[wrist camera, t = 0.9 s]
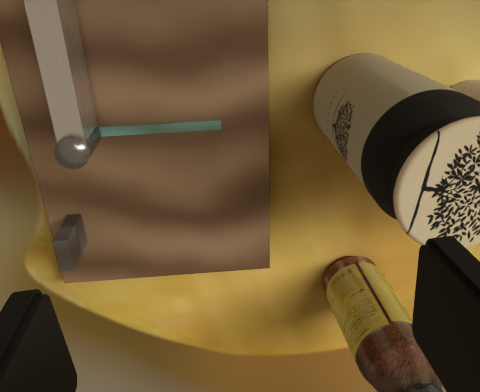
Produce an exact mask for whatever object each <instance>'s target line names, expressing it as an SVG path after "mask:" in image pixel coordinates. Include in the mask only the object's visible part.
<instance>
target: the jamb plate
mask: <svg viewBox="0 0 480 392" xmlns="http://www.w3.org/2000/svg"><path fill="white" fill-rule="evenodd" d="M74 5H75V11H76V16H77V21H78V27H79V32H80V37H81V43H82V48H83V53H84V58H85V64H86V69H87V74H88V80H89V85H90V90H91V96H92V101H93V106H94V112H95V117H96V122H97V126H98V127H99V129H100V131H101V140H100V142H99V144H98V145H97V147H96V148H95V150H94V152H93V153H92V155H91V156H90V158H89V160H88V161H87V163H86V164H85V165H84V166H83V167H81V168H79V169H68V168H65V167H63V166H62V165H61V164H59V163H58V161H57V160H56V158H55V155H54V148H55V146H56V144H57V141H56V136H55V132H54V128H53V123H52V119H51V115H50V111H49V106H48V102H47V98H46V94H45V89H44V85H43V81H42V77H41V72H40V68H39V64H38V60H37V55H36V51H35V47H34V43H33V38H32V34H31V30H30V26H29V21H28V17H27V13H26V9H25V4H24V0H0V42H1V45H2V49H3V53H4V57H5V60H6V64H7V68H8V72H9V75H10V79H11V83H12V87H13V90H14V94H15V98H16V102H17V105H18V109H19V113H20V117H21V120H22V124H23V128H24V132H25V135H26V139H27V143H28V147H29V150H30V154H31V158H32V162H33V165H34V169H35V173H36V177H37V180H38V184H39V188H40V192H41V195H42V199H43V203H44V207H45V210H46V214H47V218H48V222H49V225H50V229H51V233H52V237H53V241H52V243H53V247H54V251H55V254H56V258H57V262H58V265H59V269H60V272H62V274H63V278H64V282H65V283H74V282H87V281H101V280H114V279H128V278H141V277H155V276H168V275H182V274H195V273H208V272H222V271H235V270H249V269H262V268H270V250H269V106H268V0H74Z"/></svg>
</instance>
